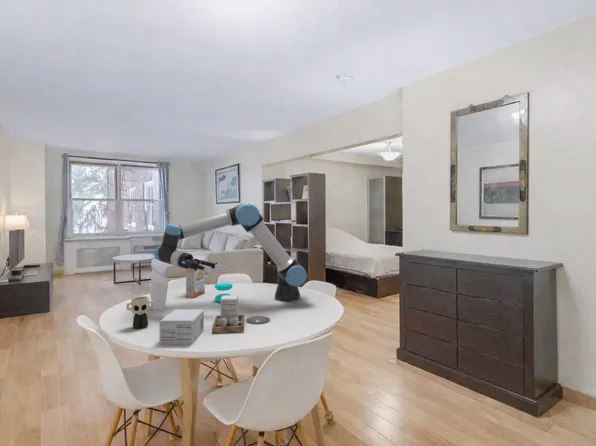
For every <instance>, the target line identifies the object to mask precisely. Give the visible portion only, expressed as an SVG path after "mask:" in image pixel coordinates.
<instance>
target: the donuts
mask: <svg viewBox="0 0 596 446" xmlns="http://www.w3.org/2000/svg"><path fill="white" fill-rule="evenodd" d="M214 288H215V290H217V291H221V292H222V291H223V292H225V291H230V290H231V289H232V288H233V283H231V282H217V283H215V285H214ZM224 295H231V294H230V293H220V294H217V295H216V296H215V297H214V301H215V302H217V303H221V297H222V296H224Z"/></svg>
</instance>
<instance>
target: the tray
mask: <svg viewBox="0 0 596 446" xmlns="http://www.w3.org/2000/svg"><path fill="white" fill-rule="evenodd" d="M244 329H245V314H238V318H230V322H228V323H227V319H226V318H221V314H220V315H216V316H215V319H214V322H213V324H212V326H211V334H215V335H216V334H234V333H235V334H236V333H240V334H241V333H244Z"/></svg>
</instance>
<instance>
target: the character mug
mask: <svg viewBox="0 0 596 446" xmlns="http://www.w3.org/2000/svg"><path fill="white" fill-rule="evenodd" d="M130 306H131V307H130ZM153 307H154V305H153V301H151V300H150V298H149V296H145V295H143V296H141V295H140V296H134V297H132V298H131V301H130V302H127V303H126V311H131V314H134V315H133V319H132V328H134V329H140V327H141V328H146V327H147V326H149V320H148V315H147V313H148V312H149V311H150V309H152V308H153Z"/></svg>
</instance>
